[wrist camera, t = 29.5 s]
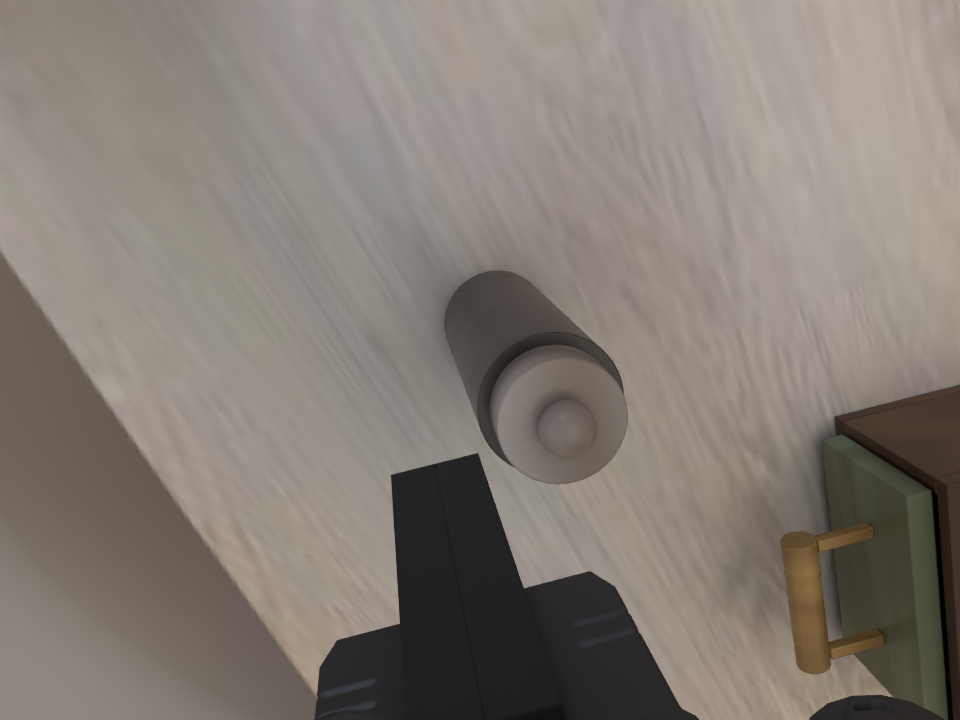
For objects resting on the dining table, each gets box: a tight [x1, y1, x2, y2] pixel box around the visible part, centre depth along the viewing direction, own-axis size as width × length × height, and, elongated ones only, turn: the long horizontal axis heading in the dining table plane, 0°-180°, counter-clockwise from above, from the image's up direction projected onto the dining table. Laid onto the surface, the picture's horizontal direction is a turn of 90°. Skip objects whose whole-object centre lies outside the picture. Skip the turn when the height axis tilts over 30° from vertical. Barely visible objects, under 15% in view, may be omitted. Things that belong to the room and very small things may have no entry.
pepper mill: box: [445, 271, 628, 484], centre depth 33 cm, size 5×5×16 cm
